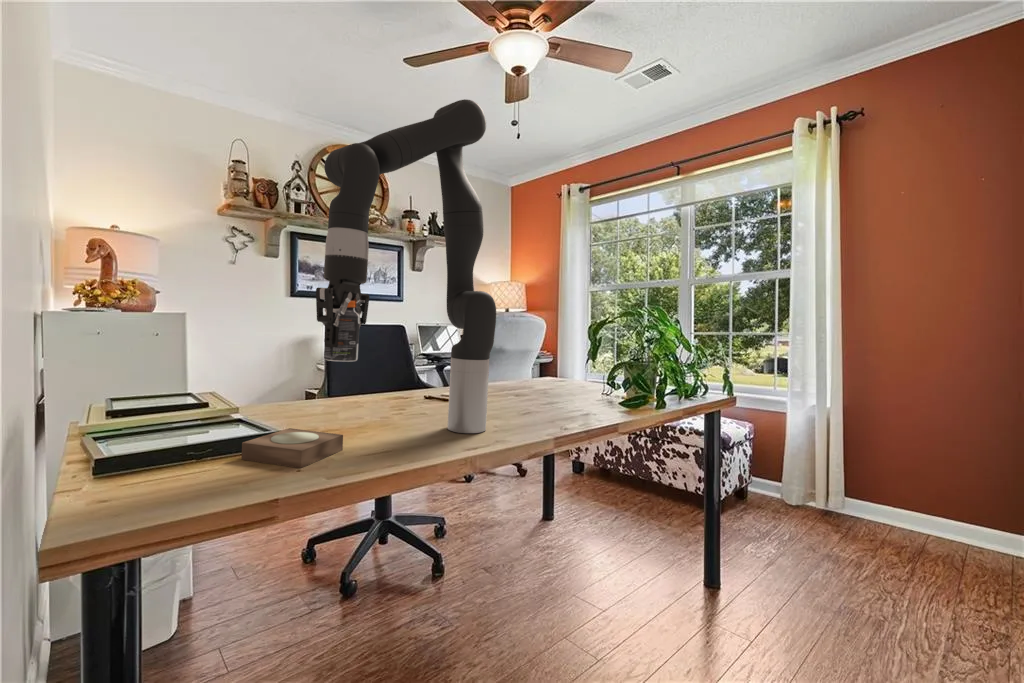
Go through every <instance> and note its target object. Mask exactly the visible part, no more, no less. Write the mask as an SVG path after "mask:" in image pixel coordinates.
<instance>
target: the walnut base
mask: <svg viewBox="0 0 1024 683" xmlns="http://www.w3.org/2000/svg"><path fill="white" fill-rule="evenodd" d="M343 444H344V434H340V433H339V434H338V433H331V432H325V431H314V430H309V429H307V430H306V429H298V428H285V429H281V430H280V431H276V432H272V433H269V434H266V435H263V436H259V437H256V438H253V439H250V440H246V441H243V442H241V460H243V461H248V462H256V463H264V464H269V465H278V466H286V467H290V468H296V469H297V468H299V469H302V468H304V467H305V468H306V467H307V466H309V465H311V464H313V463H316V462H318V461H321V460H323V459H325V458H328V457H331V456H332V455H334V454H337V453H339V452H342V451H344V450H343V449H344V446H343Z"/></svg>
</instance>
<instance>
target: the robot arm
mask: <svg viewBox="0 0 1024 683" xmlns="http://www.w3.org/2000/svg"><path fill="white" fill-rule="evenodd" d="M486 119H487V118H486V115H485V112H484V109H482V107H481V106H480V105H479V104H478V103H477V102H476V101H474V100H472V99H467V98H466V99H460V100H456V101H453V102H451V103H449V104H446V105H444V106H442V107H440V108H438V109H437V110H436V111H435V112H434V115H433V117H431V118H429V119H425V120H421V121H419V122H415V123H411V124H409V125H408V124H407V125H404V126H401V127H400V126H399V127H397V128H394V129H391V130H389V131H385V132H382V133H380V134H378V135H375V136H374V137H372V138H369V139H367V140H365V141H361V142H357V143H356V142H354V143H351V144H348V145H346V146H343V147H339V148H336V149H334V150H332V151H331V152H330V153H329V154H328V155H327V157H326V158H325V161H324V173H325V175H326V178H327V179H328V180H329V182H330V183H332V184H333V185H334V186H336V187H338V188H340V189H339V192H338V194H337V195H336V196H335V197H334V198H333V199H331V200H330V203H329V207H328V208H329V209H328V226H327V233H326V239H325V251H324V266H323V267H324V268H323V269H324V270H323V279H325V281H327V282H328V285H327V287H317V288H316V289H315V300H316V301H315V304H316V305H315V306H316V308H315V309H316V322H320V323H322V325H323V326H324V339H323V341H324V348H325V347H331V348H336V347H337V346H338V332H339V327H337V326H338V325H339V322H340V319H341V316H343V315H345V312H346V309H347V306H348V303H349V302H350V301H355V312H356V313H358V314H359V316H360V326H359V328H360V327H362V325H365V324H367V318H368V310H369V306H370V305H369V304H370V303H369V302H370V295H369V294H366V293H362V291H361V290H362V289H361V285H363V284H364V285H365V284H366V283H367V280H368V268H369V267H368V265H369V263H368V262H369V247H370V245H369V224H370V223H369V222H370V211H371V210H370V209H371V207H372V204H373V201H374V200H375V199H374V198H375V195H376V192H377V188H378V185H379V184H378V183H379V180H380V175H384V174H388V173H392V172H395V171H398V170H400V169H403V168H404V167H407V166H410V165H411V164H414V163H416V162H417V161H419V160H422V159H424V158H426V157H428V156H431V155H433V154H434V153H436V159H437V165H438V170H439V171H438V172H439V180H440V191H441V201H442V219H443V220H442V221H443V229H444V230H443V232H444V239H445V240H444V241H445V255H446V259H445V260H446V273H447V275H446V276H447V278H446V313H447V317H448V320H449V322H450V323H451V325H452V326H453V327H455V328H457V329H461V330H463V331H462V337H461V339H460V340H459V341H458V342H457V343H455V344H453V345H452V346H451V348H450V350H451V352H450V353H451V354H450V369H449V370H450V372H449V374H450V375H449V389H448V390H449V391H448V393H449V394H448V410H447V411H448V412H447V430H448V431H451V432H454V433H457V434H458V433H459V434H479V433H483V432H485V431H486V429H487V414H488V394H489V393H488V391H489V375H490V374H489V373H490V355H491V352H492V349H493V348H494V347H493V346H494V343H495V333H496V326H497V325H496V324H497V306H496V302H495V299H494V297H493V296H492V295H491V294H490V293H488V292H486V291H481V290H475V287H474V286H475V285H474V267H475V264H476V260H477V258H478V255H479V252H480V250H481V246H482V243H483V238H484V216H483V206H482V203H481V200H480V198H479V195H478V194H477V192H476V190H475V189H474V187H473V185H472V184H471V182H470V180H469V178H468V177H467V174H466V171H465V167H464V156H463V148H464V147H466V146H470V145H473V144H476V143H477V142H479V141H480V139H482V138H483V136H484V135H485V133H486V129H487V120H486ZM333 308H334V309H333ZM324 312H325V314H324ZM333 314H335V317H334V319H333Z"/></svg>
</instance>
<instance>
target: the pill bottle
mask: <svg viewBox="0 0 1024 683" xmlns="http://www.w3.org/2000/svg"><path fill="white" fill-rule="evenodd" d="M333 309H334V308H333ZM334 317H335V314H333V319H334ZM360 318H361V315H360V316H359V314H358V313H356V312H355V301H350V302H349V303H348V306H347V309H346V312H345V315H343V316H341V319H340V322H339V325H338V326H337V327H339V332H338V346H337V347H336V348H331V347H325V346H324V349H323V350H324V352H323V359H324V360H325V361H327V362H330V361H331V362H341V363H342V362H343V363H345V362H347V363H349V362H350V363H352V362H357V361H358V359H359V344H360V343H359V342H360V327H359V326H360Z"/></svg>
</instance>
